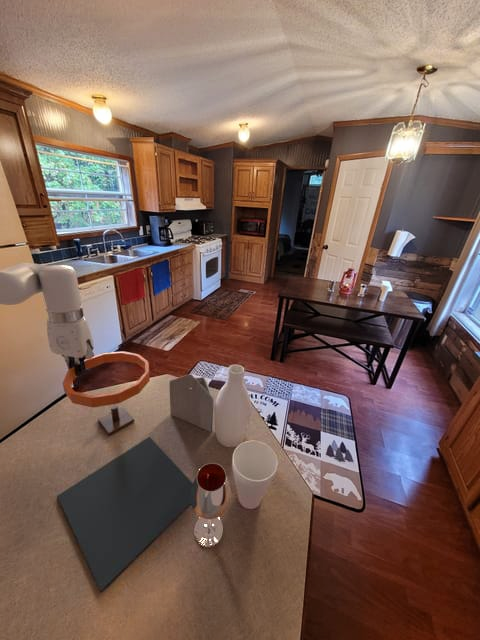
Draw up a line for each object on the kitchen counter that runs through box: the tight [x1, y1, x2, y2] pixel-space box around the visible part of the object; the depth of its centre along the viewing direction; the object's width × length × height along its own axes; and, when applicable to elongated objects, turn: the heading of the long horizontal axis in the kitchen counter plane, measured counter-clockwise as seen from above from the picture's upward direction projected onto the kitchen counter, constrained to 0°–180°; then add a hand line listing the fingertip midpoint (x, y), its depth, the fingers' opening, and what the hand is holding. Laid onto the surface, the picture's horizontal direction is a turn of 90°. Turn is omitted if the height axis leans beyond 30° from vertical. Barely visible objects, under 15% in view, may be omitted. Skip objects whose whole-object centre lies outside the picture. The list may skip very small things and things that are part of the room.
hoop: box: [62, 351, 151, 408], centre depth 71 cm, size 21×21×3 cm
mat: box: [56, 436, 193, 593], centre depth 61 cm, size 24×24×1 cm
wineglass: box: [190, 462, 232, 548], centre depth 52 cm, size 8×8×18 cm
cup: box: [231, 439, 279, 510], centre depth 61 cm, size 10×10×14 cm
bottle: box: [213, 363, 252, 448], centre depth 75 cm, size 11×11×25 cm
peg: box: [97, 404, 135, 436], centre depth 80 cm, size 8×8×6 cm
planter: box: [168, 373, 215, 433], centre depth 83 cm, size 16×8×19 cm, turn 65°
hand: (78, 372), depth 73 cm, fingers closed on hoop, 1 cm apart
